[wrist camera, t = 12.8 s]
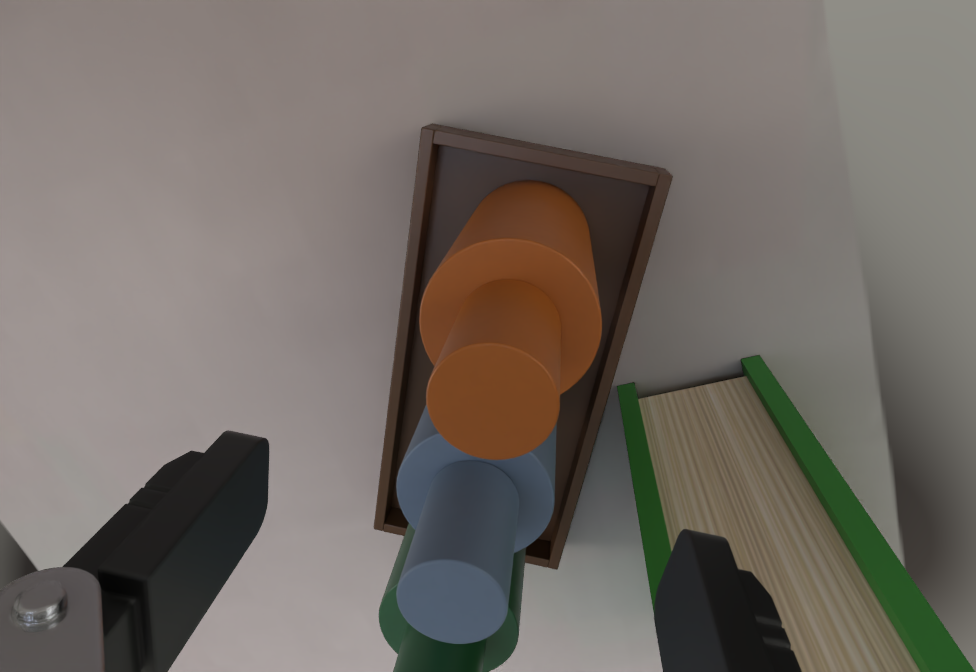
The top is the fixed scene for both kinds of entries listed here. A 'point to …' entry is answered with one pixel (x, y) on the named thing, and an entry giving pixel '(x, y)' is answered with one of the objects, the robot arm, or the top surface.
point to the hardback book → (778, 523)
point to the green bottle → (439, 665)
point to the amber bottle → (510, 320)
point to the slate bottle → (467, 531)
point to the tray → (619, 273)
